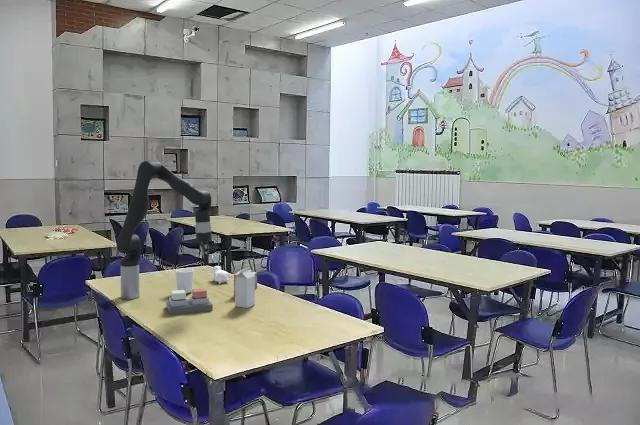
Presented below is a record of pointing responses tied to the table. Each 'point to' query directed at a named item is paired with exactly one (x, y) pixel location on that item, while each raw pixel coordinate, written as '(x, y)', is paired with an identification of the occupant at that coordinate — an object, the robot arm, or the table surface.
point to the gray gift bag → (254, 275)
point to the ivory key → (178, 294)
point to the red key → (199, 293)
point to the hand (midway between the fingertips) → (205, 263)
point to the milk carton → (245, 288)
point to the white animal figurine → (220, 275)
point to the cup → (184, 279)
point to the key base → (188, 305)
